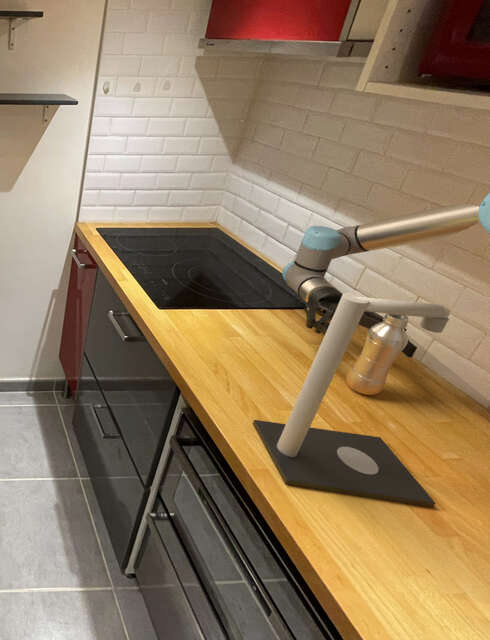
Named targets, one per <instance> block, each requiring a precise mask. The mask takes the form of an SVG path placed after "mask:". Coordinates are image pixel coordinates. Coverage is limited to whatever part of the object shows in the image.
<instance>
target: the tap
mask: <svg viewBox="0 0 490 640" xmlns="http://www.w3.org/2000/svg"><path fill="white" fill-rule="evenodd" d="M342 294H343V295H342V297H341V300H340V302H339V304H338V306H337V309H336V311H335V313H334V316H333V318H332V320H331V321H330V322H329V323H330V325H329V327H328V329H327V332H326V334H325V336H324V335H323V338H322V340H321V343H320V345H319V347H318V350H317V352H316V355H315V357H314V359H313V362H312V364H311V366H310V368H309V370H308V373H307V375H306V378H305V379H304V382H303V384H302V387H301V389H300V391H299V394H298V395H297V398H296V400H295V403H294V405H293V407H292V409H291V412H290V414H289V416H288V418H287V420H286V423H282V422H273V421H267V420H260V419H254V420H253V421H252V425H253V427H254V429H255V432H256V433H257V435H258V437H259V439H260V441H261V442H262V444H263V446H264V448H265V450H266V452H267V453H268V455H269V457H270V459H271V461H272V462H273V465H274V466H275V468H276V470H277V472H278V474H279V476H280V477H281V479H282V481H283V482H284V485H288V486H294V487H300V488H307V489H312V490H318V491H324V492H325V491H326V492H331V493H337V494H343V495H344V494H345V495H351V496H357V497H363V498H369V499H376V500H382V501H388V502H394V503H401V504H407V505H413V506H420V507H426V508H432V509H433V508H434V506H435V505H436V502H435V500H434V499H433V498H432V497H431V496H430V495H429V493H428V492H427V491H426V490H425V488H424V487H423V486H422V485H421V484H420V483H419V481H418V480H417V479H416V478H415V476H414V475H413V474H412V473H411V472H410V471H409V469H408V468H407V467H406V466H405V465H404V464H403V462H402V461H401V460H400V459H399V457H398V456H397V455H396V454H395V453H394V452H393V451H392V449H391V448H390V447H389V445H387V443H386V442H385V441H384V440H383V438H382V437H381V436H375V435H368V434H360V433H352V432H345V431H338V430H332V429H323V428H317V427H311V426H312V424H313V421H314V420H315V418H316V415H317V414H318V412H319V408H320V407H321V404H322V403H323V400H324V398H325V396H326V393H327V391H328V389H329V387H330V386H331V383H332V381H333V379H334V378H335V374H336V372H337V371H338V368H339V366H340V364H341V362H342V360H343V358H344V355H345V353H346V352H347V349H348V347H349V344H350V342H351V341H352V338H353V336H354V334H355V332H356V330H357V327H358V326H359V325H358V323H359V321H360V319H361V317H362V315H363V313H364V311H367V312H374V313H376V314H386V313H387V314H397V315H406V316H407V317H416V318H417V317H418V318H421V320H420V322H419V324H418V325H419V327H420V328H422V329H423V330H425V331H428V332H431V333H434V334H435V333H436V334H441V333H442V332H443V331H444V329H445V327H446V326H447V323H449V321H450V319H449V318H450V317H449V316H451V315H450V314H451V311H450V309H449V307H447V305H443V304H438V303H437V304H436V303H427V302H419V301H418V302H416V301H405V300H398V299H397V300H395V299H386V298H385V299H384V298H376V297H365V296H362V295H360V294H357V293H353V292H343V293H342ZM357 325H358V326H357Z"/></svg>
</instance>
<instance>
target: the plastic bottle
mask: <svg viewBox="0 0 490 640" xmlns="http://www.w3.org/2000/svg"><path fill="white" fill-rule="evenodd" d="M383 317H384V318H383V322H381V323H378V324H376V325H374V326H372V327H371V328H370V329H368V331H367V333H366V337H365V341H364V345H363V348H362V351H361V352H360V355H359V356H358V358H357V360H356V361H355V362H354V364H353V365H352V366H351V367H350V369H349V370H348V371H347V372H346V376H345V381H346V384H347V385H348V387H349V388H350V389H352V390H353V391H354V392H357V393H359V394H362V395H366V396H377V395H378V394H381V392H382V391H384V389H385V386H386V382H387V377H388V374H389V372H390V369H391V367H392V365H393V363H394V362H395V361H396V360H397V358H398V356H399V355H400V354H401V353H402V350H403V349H404V348H405V346H406V345H407V343H408V340H409V338H408V335H407V331H406V332H405V330H404V328H406V329H407V327H408V324H409V322H410V317H409V316H407V315H397V314H387V313H385V315H384V316H383Z"/></svg>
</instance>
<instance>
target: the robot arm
mask: <svg viewBox="0 0 490 640" xmlns="http://www.w3.org/2000/svg"><path fill="white" fill-rule="evenodd" d="M483 198H484V199H483V201H482V202H481V205H480V207H479V206H474V205H470V204H458V205H457V203H455V204H456V205H453V204H450V205H451V206H448V205H444V206H445V207H444V206H440V208H439V207H435V208H430V209H426V210H421V211H417V212H412V213H407V214H403V215H398V216H394V217H389V218H383V219H379V220H376V221H370V222H366V223H361V224H357V225H353V226H346V227H342V228H338V229H334V228H331V227H328V226H322V225H318V226H317V225H312V226H309V227H308V228H307V229H306V230H305V233H304V235H303V236H302V238H301V242H300V245H299V247H298V250H297V254H296V256H295V259H294V261H290V262H288V263H287V265H285V266H284V267H283V269H282V272H281V276H282V278H283V281H285V282H286V284H287V286H288V287H289V288H291V289H292V290H293V291H294V292H295V293H296V294H297V295H298V296H299V297H300V298H301V299H302V300H303V301H304V302H305V303H306V304H305V307H304V309H303V311H304V313H306V317H305V318H306V320H305V327H306V328H307V329H310V330H311V329H314V333H316V334H319V335H321V334H322V335H323V337H324V336H325V334H326V332H327V329H328V327H329V325H330V322H331V320H332V318H333V316H334V313H335V311H336V309H337V306H338V304H339V302H340V300H341V297H342V295H343V294H344V293H342V292H341V291H340V290H339V289H338V288H337V287H335V285H334V284H332V283H331V282H329V280H327V278H325V276H326V273H327V272H328V270H329V267H330V264H331V262H332V260H335V259H339V258H342V257H345V256H346V257H347V256H351V255H355V254H361V253H366V252H371V251H377V250H378V251H379V250H385V249H390V248H397V247H402V246H408V245H414V244H420V243H426V241H427V242H431V240H433V241H437V240H436V239H439V238H442V237H446V236H450V235H452V234H455V233H458V232H460V231H462V230H465V229H468V228H469V227H471V226H473V225H475V224H476V223H478V222H479V221H480V223H481V225H482V226H483V228H484V229H485V230H486V231H487V232H486V233H488V234H490V192H489V193H488V194H487V195H486V196H485V197H483ZM439 240H440V239H439ZM316 315H317V316H319V317H320V318H319V320H317V319H316V317H317V316H316ZM384 317H385V316H382V315H380V314H379V313H377V312H367V311H364V313H363V315H362V317H361V319H360V321H359V323H358V325H357V327H358V326H361V327H363V328H366V329H368V330H369V329H370V328H371V327H372V326H374V325H376V324H378V323H381V322H383V318H384ZM404 330H405V332H406V333H407V331H408V328H407V327H406V328H404ZM417 349H418V347H417V346H416V345H415V343H413V342H411V341H410V339H408V343H407V345H406V346H405V348H404V349H403V350H402V351H401V353H402V354H403V355H404V356H406V357H407V358H413V356H414V354H415V353H416V351H417Z"/></svg>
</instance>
